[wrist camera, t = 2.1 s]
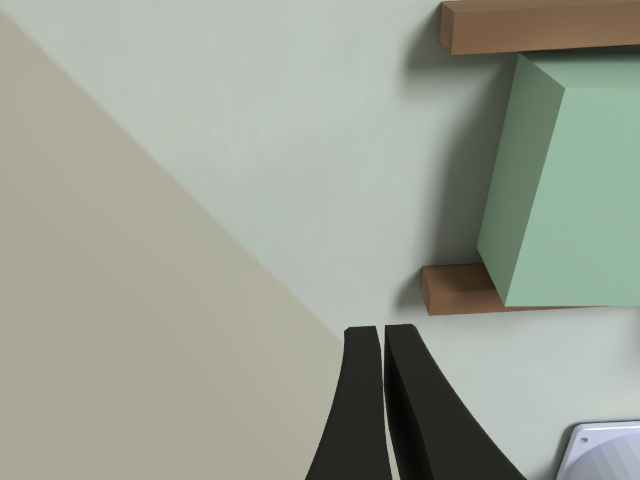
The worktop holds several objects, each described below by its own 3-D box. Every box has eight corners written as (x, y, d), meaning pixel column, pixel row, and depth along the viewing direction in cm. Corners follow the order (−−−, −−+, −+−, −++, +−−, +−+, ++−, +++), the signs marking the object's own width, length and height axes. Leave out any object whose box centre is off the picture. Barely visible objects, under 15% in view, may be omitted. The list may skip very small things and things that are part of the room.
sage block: (590, 243, 22) (640, 305, 19) (475, 243, 22) (504, 306, 19) (661, 51, 18) (742, 88, 14) (517, 50, 18) (565, 88, 14)
